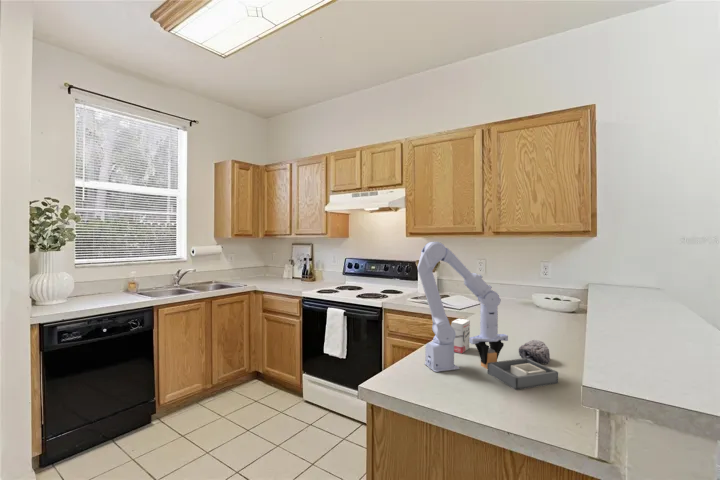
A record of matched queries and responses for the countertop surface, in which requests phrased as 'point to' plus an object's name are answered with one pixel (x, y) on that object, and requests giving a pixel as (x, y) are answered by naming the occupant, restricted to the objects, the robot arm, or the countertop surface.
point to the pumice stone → (535, 351)
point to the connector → (490, 357)
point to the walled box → (522, 373)
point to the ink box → (461, 334)
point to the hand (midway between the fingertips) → (488, 362)
